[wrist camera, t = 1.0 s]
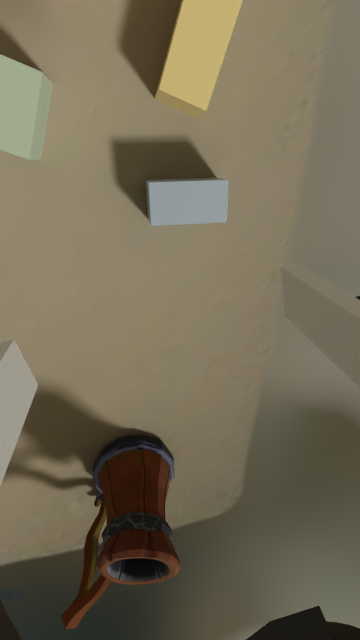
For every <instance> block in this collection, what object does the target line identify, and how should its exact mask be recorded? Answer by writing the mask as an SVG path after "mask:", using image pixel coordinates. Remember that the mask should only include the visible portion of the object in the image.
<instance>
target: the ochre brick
mask: <svg viewBox="0 0 360 640" xmlns="http://www.w3.org/2000/svg"><path fill="white" fill-rule="evenodd" d="M242 1H243V0H181V4H180V7H179V11H178V15H177V18H176V22H175V26H174V29H173V33H172V37H171V40H170V44H169V48H168V51H167V55H166V59H165V62H164V66H163V69H162V73H161V77H160V80H159V84H158V88H157V91H156V95H155V99H157V100H159V101H161V102H164V103H166V104H168V105H170V106H173V107H175V108H177V109H179V110H181V111H184V112H186V113H188V114H190V115H193V116H195V117H198V116H199V115H201V114H202V113H204V112H205V111H206V110H207V107H208V104H209V101H210V98H211V95H212V92H213V89H214V86H215V83H216V80H217V77H218V74H219V71H220V68H221V65H222V62H223V59H224V56H225V53H226V49H227V46H228V43H229V40H230V37H231V34H232V31H233V28H234V25H235V22H236V19H237V16H238V13H239V10H240V7H241V4H242Z"/></svg>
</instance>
